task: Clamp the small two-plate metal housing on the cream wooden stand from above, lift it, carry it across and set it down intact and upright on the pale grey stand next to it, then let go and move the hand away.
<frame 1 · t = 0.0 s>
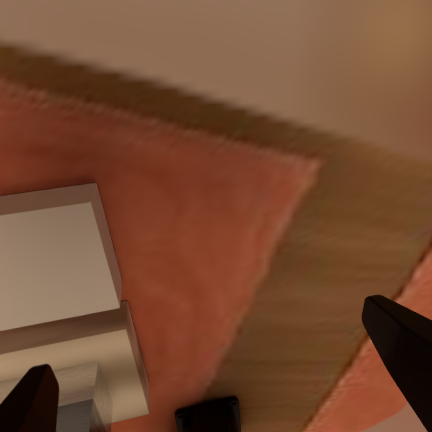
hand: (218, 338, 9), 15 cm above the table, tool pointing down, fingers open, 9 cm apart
stand a: (65, 360, 28), on the table
housing: (58, 393, 25), point 3 cm above the table, touching stand a
stand b: (19, 250, 23), on the table
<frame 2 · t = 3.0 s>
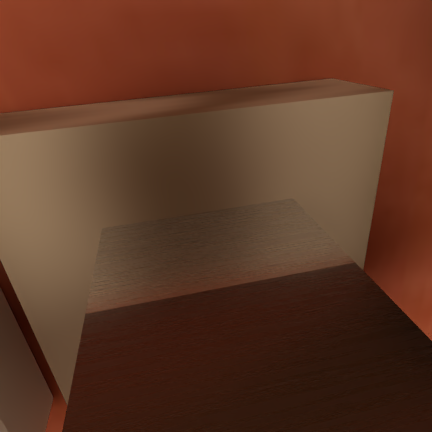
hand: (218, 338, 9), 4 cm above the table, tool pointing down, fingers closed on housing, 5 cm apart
stand a: (197, 258, 13), on the table
housing: (211, 313, 10), point 3 cm above the table, touching gripper, stand a
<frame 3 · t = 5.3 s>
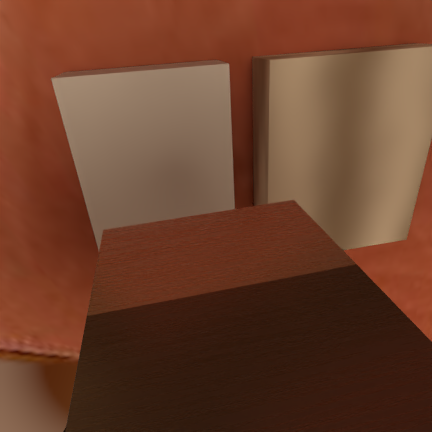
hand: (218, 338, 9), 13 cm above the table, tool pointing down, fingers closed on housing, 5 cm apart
stand a: (326, 150, 22), on the table
housing: (212, 314, 10), point 12 cm above the table, touching gripper
stand b: (159, 171, 21), on the table
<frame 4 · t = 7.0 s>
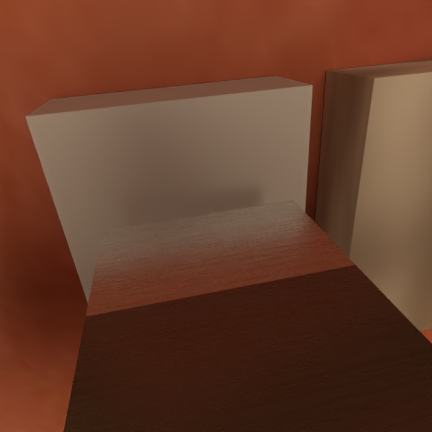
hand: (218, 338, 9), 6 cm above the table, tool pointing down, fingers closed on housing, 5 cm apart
stand a: (411, 194, 16), on the table
housing: (212, 314, 10), point 5 cm above the table, touching gripper
stand b: (188, 231, 15), on the table
when the fingers open (5 cm above the table, at t = 8.0 s): housing drops 1 cm, resting on stand b.
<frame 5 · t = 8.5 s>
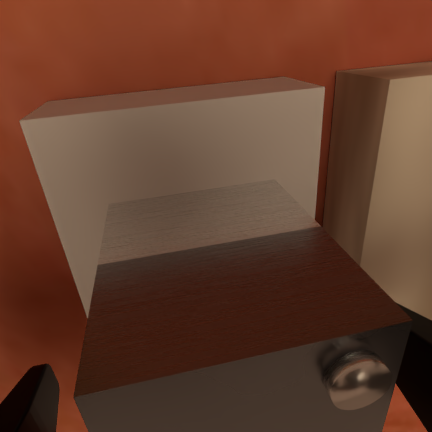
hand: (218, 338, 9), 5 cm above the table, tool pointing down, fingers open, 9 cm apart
stand a: (422, 199, 16), on the table
housing: (205, 283, 12), point 3 cm above the table, touching stand b
stand b: (191, 238, 14), on the table
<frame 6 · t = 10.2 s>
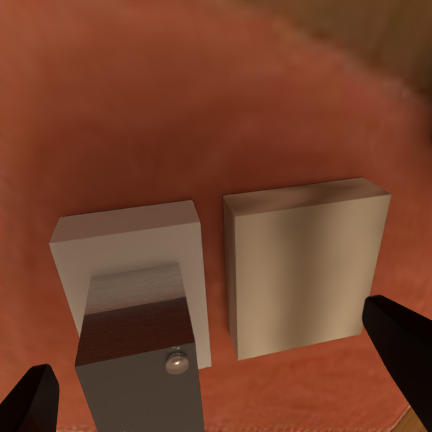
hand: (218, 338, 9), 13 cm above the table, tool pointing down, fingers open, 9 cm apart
stand a: (290, 259, 25), on the table
housing: (144, 315, 21), point 3 cm above the table, touching stand b
stand b: (142, 284, 24), on the table
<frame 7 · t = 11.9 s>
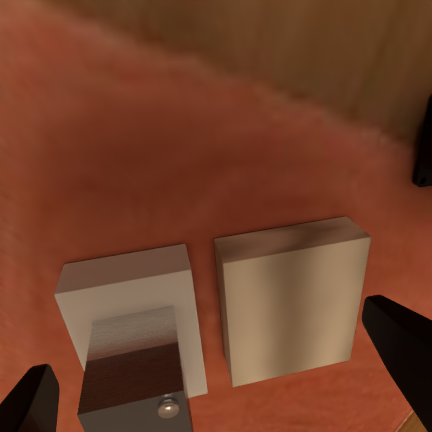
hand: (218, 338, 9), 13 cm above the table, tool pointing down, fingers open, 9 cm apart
stand a: (280, 291, 27), on the table
housing: (143, 351, 23), point 3 cm above the table, touching stand b
stand b: (141, 319, 25), on the table
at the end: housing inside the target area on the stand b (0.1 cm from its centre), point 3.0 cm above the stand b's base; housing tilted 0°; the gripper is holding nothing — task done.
